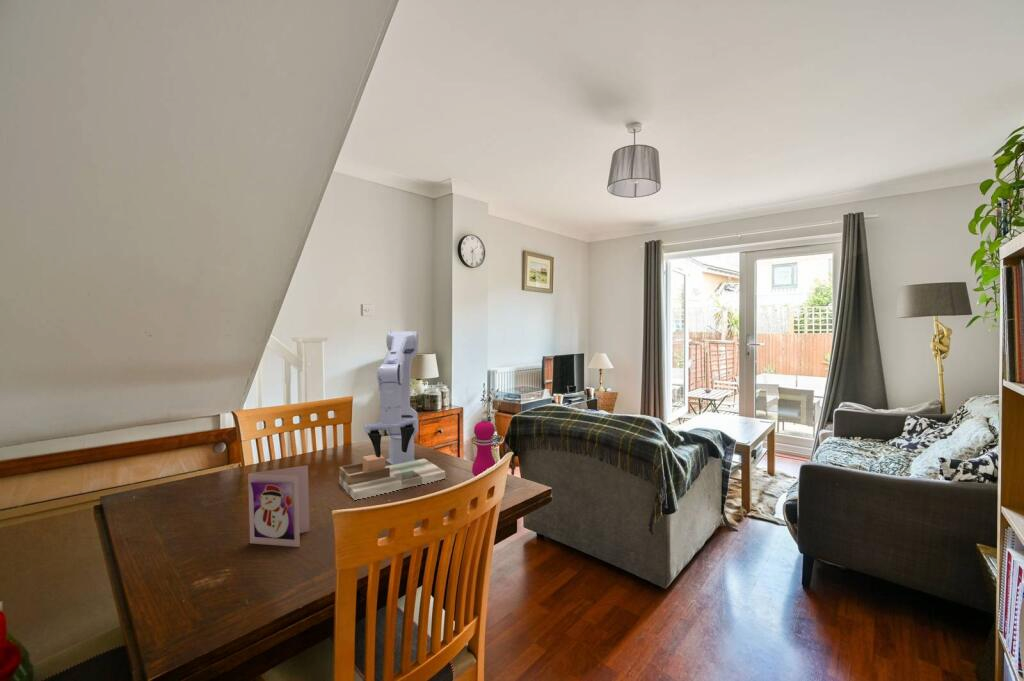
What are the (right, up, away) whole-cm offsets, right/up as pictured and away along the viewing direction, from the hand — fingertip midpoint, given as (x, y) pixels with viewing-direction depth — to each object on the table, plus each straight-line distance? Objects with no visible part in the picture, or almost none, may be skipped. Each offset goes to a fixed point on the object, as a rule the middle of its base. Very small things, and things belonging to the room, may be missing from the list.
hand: (391, 454), depth 122 cm
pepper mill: (+26, -10, +3) cm, 28 cm away
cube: (-6, -7, +4) cm, 10 cm away
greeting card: (-16, -11, -28) cm, 34 cm away
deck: (-1, -10, +5) cm, 11 cm away
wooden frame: (-9, -7, +3) cm, 11 cm away
